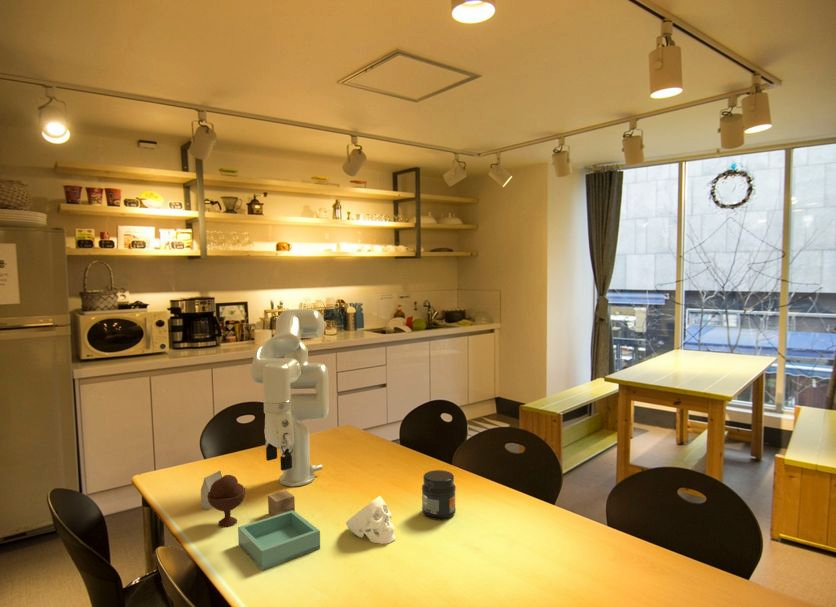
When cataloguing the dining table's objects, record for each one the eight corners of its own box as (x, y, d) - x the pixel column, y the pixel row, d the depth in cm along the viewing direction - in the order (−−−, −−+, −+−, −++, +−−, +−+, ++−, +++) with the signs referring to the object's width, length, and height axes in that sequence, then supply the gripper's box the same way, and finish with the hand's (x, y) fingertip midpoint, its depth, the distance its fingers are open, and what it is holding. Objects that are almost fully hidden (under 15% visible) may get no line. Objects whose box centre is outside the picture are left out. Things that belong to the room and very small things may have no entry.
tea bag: (225, 501, 174) (224, 471, 173) (210, 509, 168) (209, 478, 167) (216, 499, 175) (215, 470, 175) (201, 507, 169) (200, 477, 169)
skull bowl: (388, 546, 141) (368, 504, 144) (354, 561, 148) (335, 520, 151) (409, 530, 150) (389, 490, 153) (376, 544, 157) (357, 506, 160)
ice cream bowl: (254, 517, 162) (252, 469, 161) (230, 534, 151) (228, 483, 151) (225, 512, 165) (224, 465, 165) (200, 528, 155) (198, 479, 154)
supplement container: (460, 509, 167) (460, 472, 166) (448, 523, 157) (448, 484, 156) (430, 503, 171) (429, 467, 170) (416, 517, 161) (416, 478, 161)
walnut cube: (286, 508, 168) (285, 490, 168) (294, 515, 164) (294, 496, 163) (268, 514, 164) (268, 495, 164) (276, 520, 160) (276, 501, 160)
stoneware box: (293, 526, 156) (292, 510, 156) (320, 548, 143) (319, 530, 143) (238, 544, 146) (238, 527, 145) (262, 570, 133) (261, 551, 133)
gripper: (303, 410, 147) (304, 469, 148) (276, 398, 160) (278, 453, 162) (278, 415, 142) (279, 476, 144) (252, 402, 156) (254, 458, 157)
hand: (278, 464), depth 153 cm, fingers open, 9 cm apart
